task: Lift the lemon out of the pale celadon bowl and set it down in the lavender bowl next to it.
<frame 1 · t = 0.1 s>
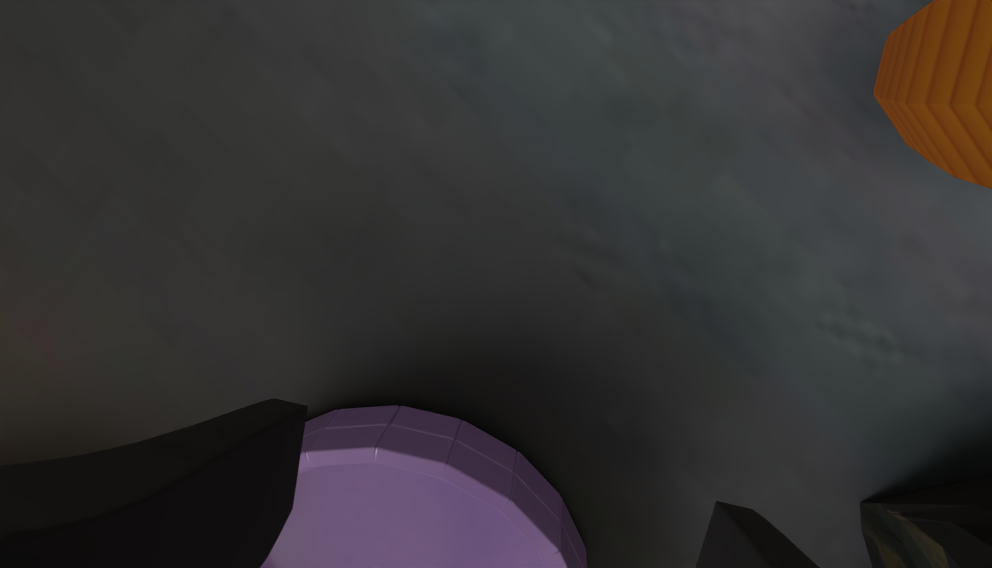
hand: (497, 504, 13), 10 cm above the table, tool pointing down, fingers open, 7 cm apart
carrot: (893, 79, 20), on the table
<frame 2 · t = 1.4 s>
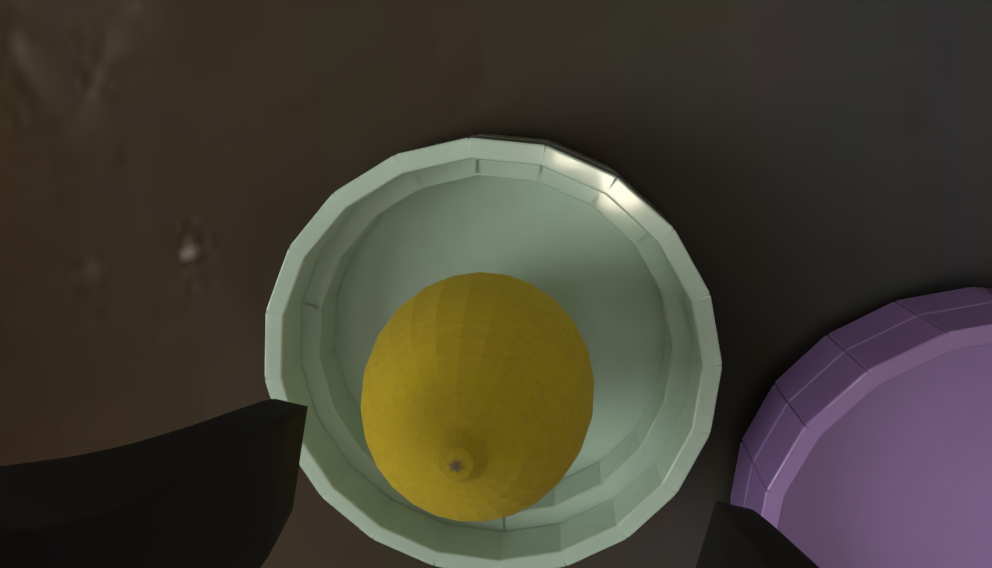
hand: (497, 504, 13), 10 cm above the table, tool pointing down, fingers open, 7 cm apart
lemon: (497, 336, 22), resting on celadon bowl
lavender bowl: (946, 491, 22), on the table
celadon bowl: (497, 335, 22), on the table
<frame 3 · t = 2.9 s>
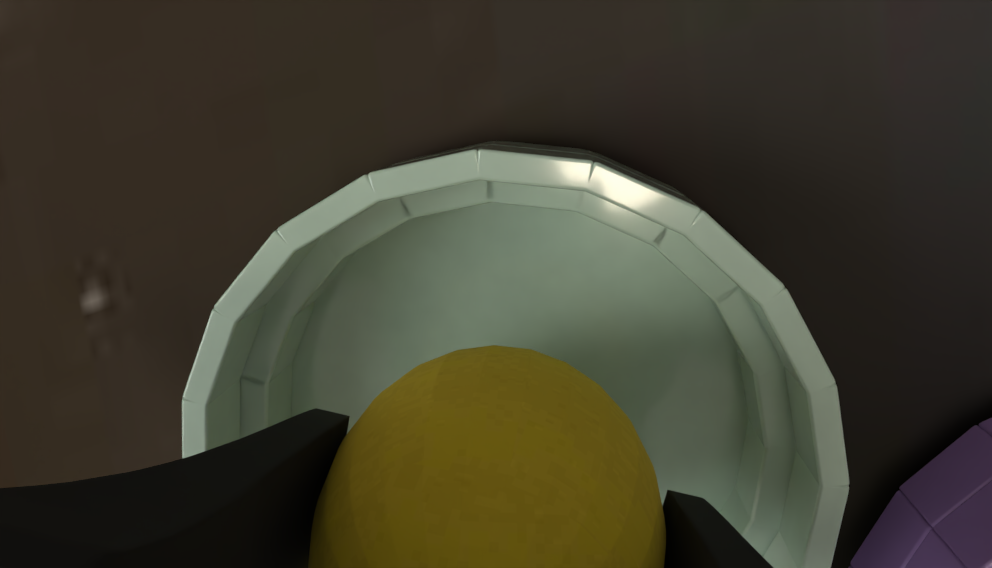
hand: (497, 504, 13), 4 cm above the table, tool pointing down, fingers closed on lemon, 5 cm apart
lemon: (512, 417, 16), resting on celadon bowl, touching gripper
celadon bowl: (513, 416, 16), on the table
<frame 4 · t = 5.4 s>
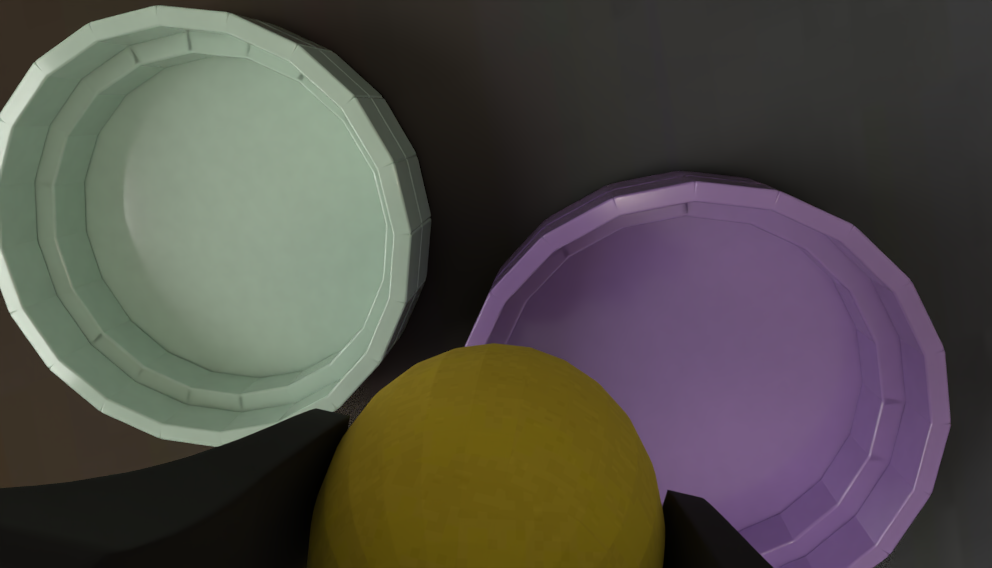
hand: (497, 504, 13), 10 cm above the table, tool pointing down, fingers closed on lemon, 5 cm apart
lemon: (511, 416, 16), point 7 cm above the table, touching gripper
lavender bowl: (675, 379, 23), on the table
celadon bowl: (242, 223, 23), on the table
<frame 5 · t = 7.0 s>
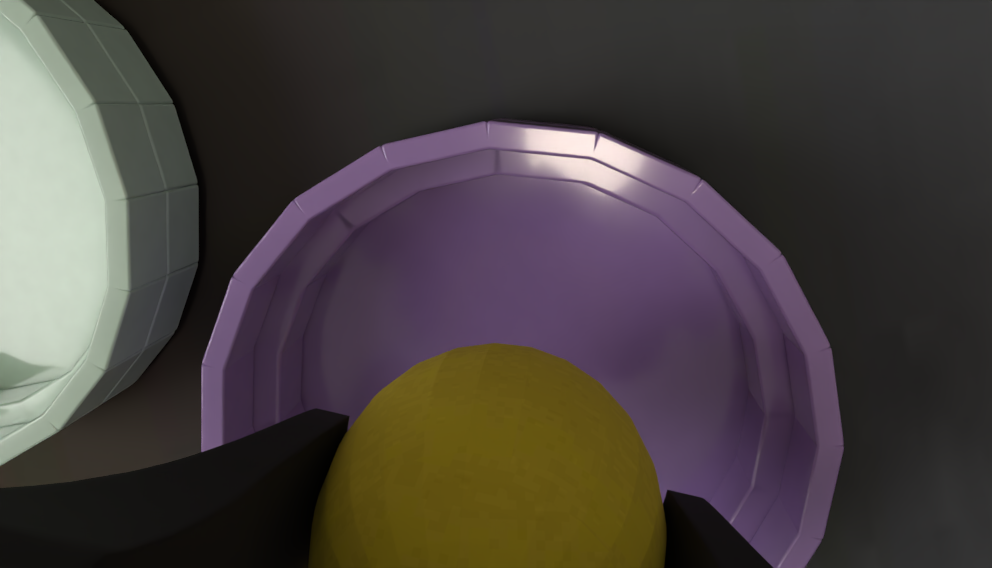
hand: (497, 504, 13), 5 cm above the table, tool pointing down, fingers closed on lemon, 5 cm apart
lemon: (512, 416, 16), point 2 cm above the table, touching gripper
lavender bowl: (519, 387, 18), on the table
when the fingers open (4 cm above the table, at t = 8.1 s): lemon stays where it is, resting on lavender bowl.
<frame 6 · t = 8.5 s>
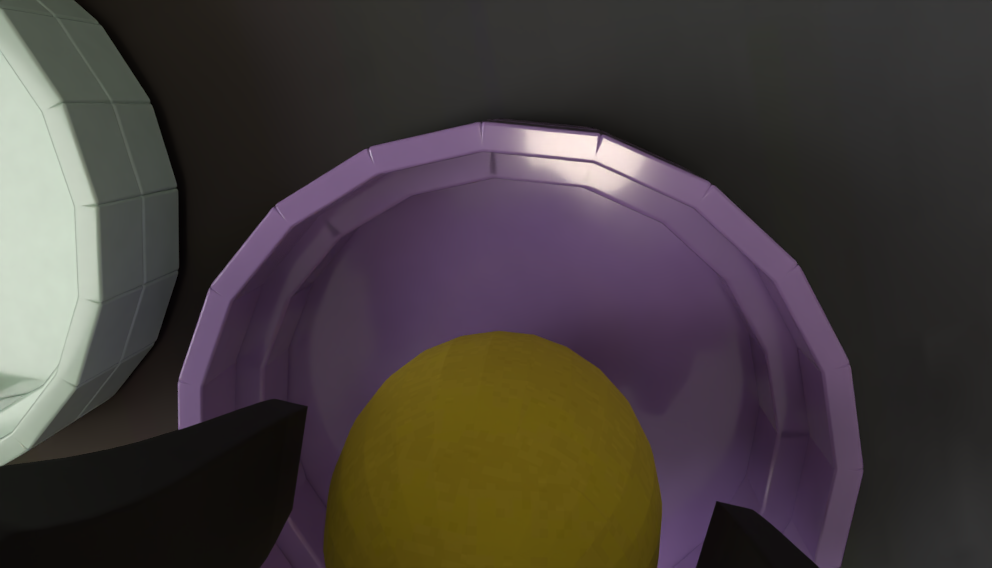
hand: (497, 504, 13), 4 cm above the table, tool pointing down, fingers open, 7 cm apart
lemon: (515, 403, 17), resting on lavender bowl
lavender bowl: (516, 401, 17), on the table
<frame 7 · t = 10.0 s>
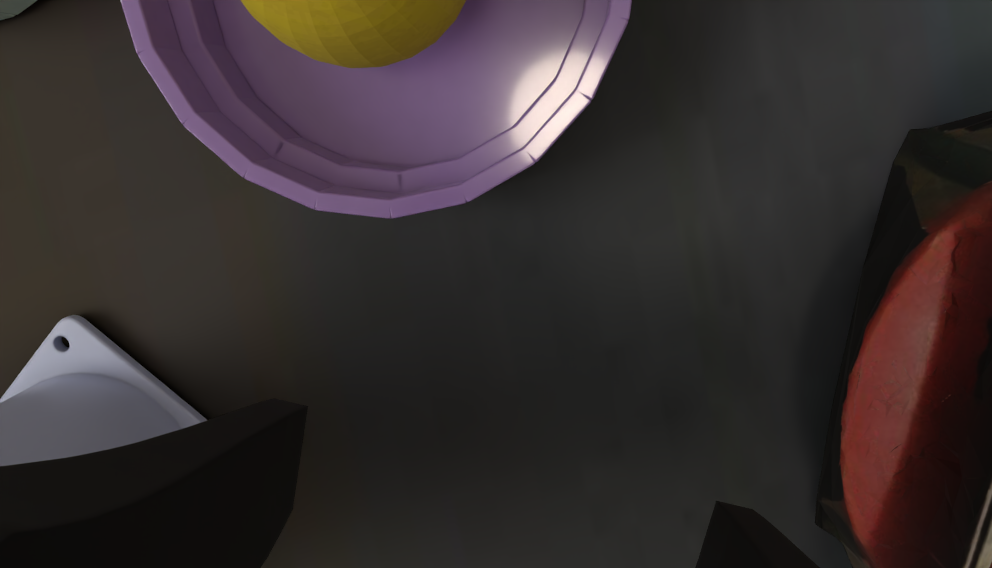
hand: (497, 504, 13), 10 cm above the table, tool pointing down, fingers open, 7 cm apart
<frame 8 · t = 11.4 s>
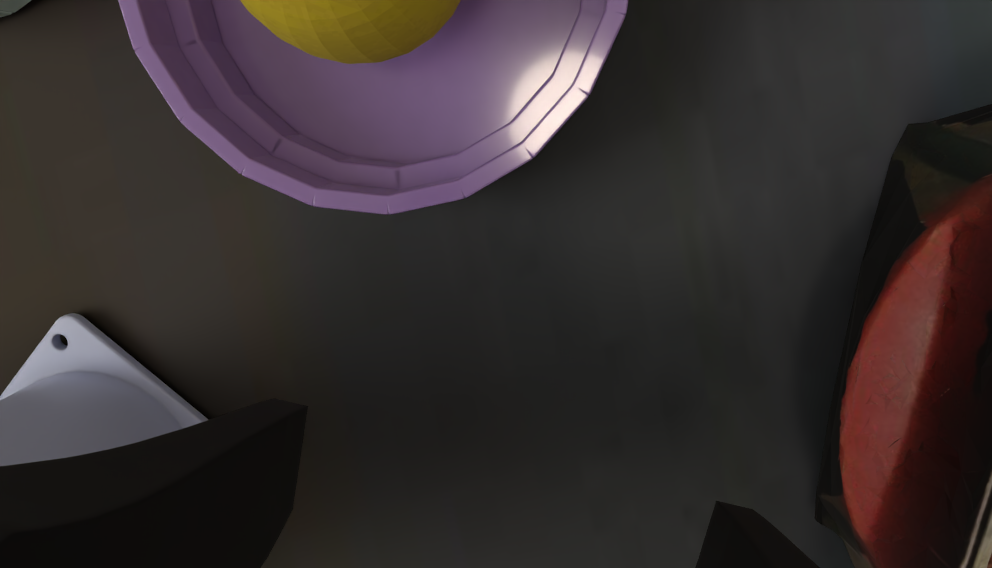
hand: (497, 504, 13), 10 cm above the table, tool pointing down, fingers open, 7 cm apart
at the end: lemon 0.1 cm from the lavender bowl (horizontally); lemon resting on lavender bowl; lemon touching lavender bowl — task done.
